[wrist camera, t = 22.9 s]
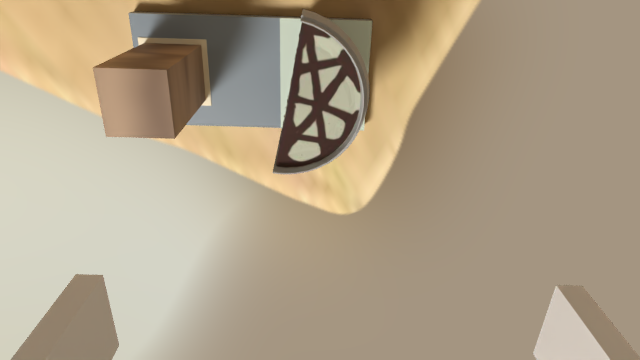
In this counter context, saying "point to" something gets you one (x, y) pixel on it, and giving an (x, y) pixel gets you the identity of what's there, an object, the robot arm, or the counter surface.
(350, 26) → the board
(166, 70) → the walnut pillar
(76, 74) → the counter surface
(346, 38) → the food container
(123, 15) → the counter surface
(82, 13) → the counter surface
